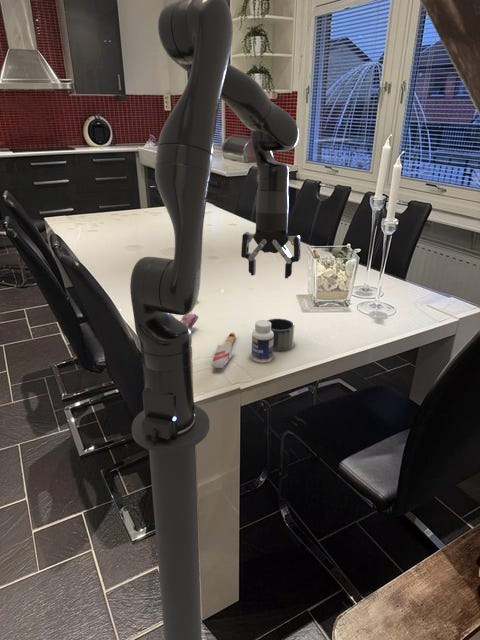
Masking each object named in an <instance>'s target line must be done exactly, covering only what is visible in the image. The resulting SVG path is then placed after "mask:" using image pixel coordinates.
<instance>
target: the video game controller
mask: <svg viewBox="0 0 480 640" xmlns="http://www.w3.org/2000/svg"><path fill="white" fill-rule="evenodd" d="M198 320H199V315H197V314H195V313H193V311H191V312H190V313H189V314H187V315H182V317H181V318H180V320H179V321H180V322H182V323H184V324H185V325H186V326H188V328H189V329H190V331H192V328H193V327H194V325H195V324H196V323H197V321H198Z"/></svg>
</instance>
